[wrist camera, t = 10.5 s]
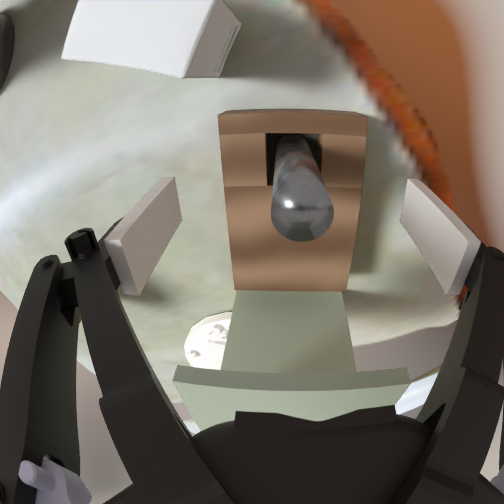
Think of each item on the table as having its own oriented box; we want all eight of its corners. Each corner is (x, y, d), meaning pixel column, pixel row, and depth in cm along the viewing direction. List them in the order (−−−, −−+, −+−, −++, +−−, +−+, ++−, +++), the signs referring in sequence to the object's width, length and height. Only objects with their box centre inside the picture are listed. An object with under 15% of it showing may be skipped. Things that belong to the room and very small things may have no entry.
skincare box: (125, 59, 21) (56, 60, 12) (145, 4, 18) (84, -18, 9) (219, 81, 22) (182, 81, 14) (244, 23, 19) (221, -12, 10)
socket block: (226, 110, 24) (217, 115, 21) (355, 112, 23) (367, 117, 19) (239, 267, 34) (234, 290, 31) (340, 269, 33) (345, 291, 29)
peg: (276, 166, 27) (271, 241, 15) (275, 134, 25) (270, 184, 13) (309, 166, 26) (331, 242, 15) (309, 134, 25) (336, 185, 13)
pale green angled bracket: (226, 223, 31) (172, 381, 15) (355, 224, 29) (411, 383, 13) (235, 298, 37) (206, 439, 21) (342, 300, 35) (363, 441, 19)
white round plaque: (210, 286, 37) (205, 302, 34) (335, 334, 40) (337, 350, 37) (176, 359, 48) (172, 371, 45) (273, 391, 50) (273, 404, 48)
